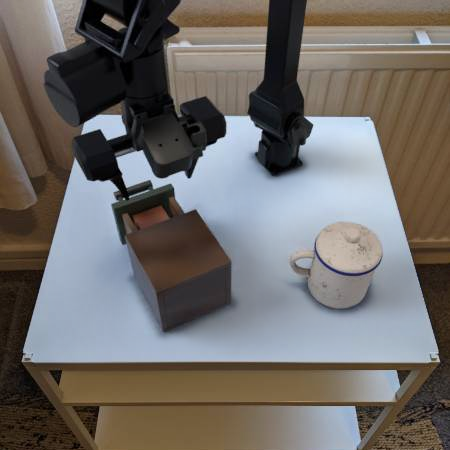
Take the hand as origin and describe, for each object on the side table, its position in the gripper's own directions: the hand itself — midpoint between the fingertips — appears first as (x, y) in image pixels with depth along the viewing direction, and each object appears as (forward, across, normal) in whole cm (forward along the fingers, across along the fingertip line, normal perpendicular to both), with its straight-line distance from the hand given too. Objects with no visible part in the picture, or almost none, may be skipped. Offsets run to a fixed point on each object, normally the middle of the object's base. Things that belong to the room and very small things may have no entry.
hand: (158, 187), depth 69 cm
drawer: (+11, -2, +1) cm, 11 cm away
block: (+10, -2, -1) cm, 10 cm away
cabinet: (+12, -2, -10) cm, 15 cm away
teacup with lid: (+12, +18, -19) cm, 28 cm away
